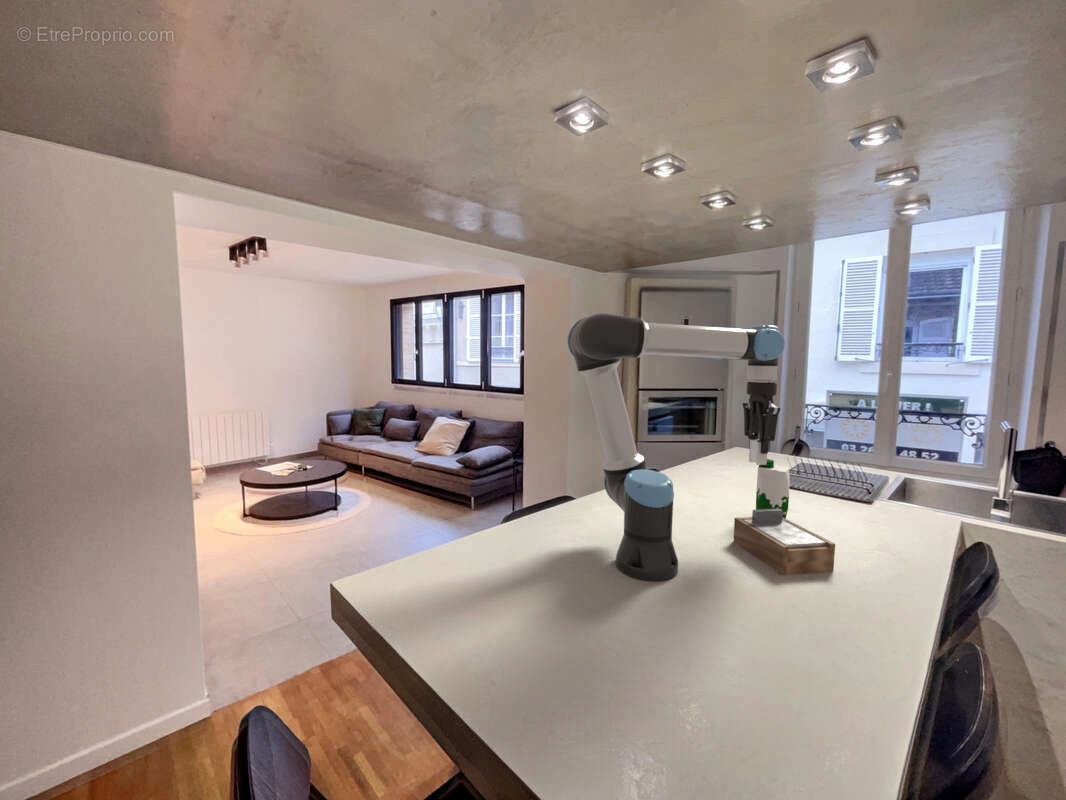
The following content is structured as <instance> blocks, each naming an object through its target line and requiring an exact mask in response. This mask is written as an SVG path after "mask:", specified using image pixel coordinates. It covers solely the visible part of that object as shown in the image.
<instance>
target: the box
mask: <svg viewBox="0 0 1066 800" xmlns="http://www.w3.org/2000/svg"><path fill="white" fill-rule="evenodd" d="M749 519H752V516H745V517H744V516H743V517H734V520H733V521H734V522H733V523H734V525H733V543H735V544H736V545H738V546H739V547H740V548H743V549H744V550H745V551H747V552H749V553H750V554H751V555H753V556H754V557H755V558H757V559H758V560H760V561H761V562H763V564H766V565H767V566H768V567H769V568H771V569H772V570H774V571H775V572H777V573H779V574H780V575H781V576H785V575H798V574H799V575H800V574H812V573H813V574H814V573H826V572H828V573H829V572H834V567H835V554H836V553H835V552H836V551H835V550H836V543H834V542H832V541H830V540H828V539H827V538H824V537H823V536H820V535H819V534H816V533H815V532H813V531H810V530H809V529H807V528H804V527H803V526H800V525H798V524H797V523H795V522H793V521H790V520H789V519H787V518H786V519H785V518H783V517H782V520H783V521H785V522H787V523H789V524H791V525H793V526H795V527H797V528H799V529H801V530H803V531H805V532H807V533H809V534H811V535H812V536H814V537H816V538H818V539H820V540H822V541H824V542H826V544H825V546H819V547H803V548H788V546H786V545H784V544H783V543H781V542H779V541H777V540H776V539H774V538H772V537H771V536H769V535H767V534H766V533H764V532H762V531H760V530H759V529H757V528H755V527H754V526H752V525H750V524H749V523H747V522H745V521H744V520H749Z"/></svg>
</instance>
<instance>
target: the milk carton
mask: <svg viewBox="0 0 1066 800" xmlns="http://www.w3.org/2000/svg"><path fill="white" fill-rule="evenodd" d="M774 463H775V461H774V460H773V459H769V458H767V465H758V467H757V475H756V476H757V477H756V492H755V493H756V496H755V497H756V498H755V510H760V509H781V510H783V514H782V517H783V518H785V519H787V516H788V511H789V502H790V501H789V500H790V483H791V478H790V477H791V476H790V466H781V465H779V464H778V465H777V464H774Z"/></svg>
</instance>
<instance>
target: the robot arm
mask: <svg viewBox="0 0 1066 800" xmlns="http://www.w3.org/2000/svg"><path fill="white" fill-rule="evenodd" d="M566 340H567V347H568V350H569V352H570V353H571V355H572V356H573V357H574V360H575V361H574V362H575V365H576V369H577V372H578V373H579V374H581V375H583V376H584V377H585V381H586V385H587V388H588V392H589V395H590V396H589V397H590V401H591V404H592V408H593V411H594V416H595V420H596V424H597V427H598V432H599V436H600V439H601V442H602V443H601V444H602V446H603V450H604V454H605V458H606V459H605V461H604V462H603V464H602V468H603V472H604V477H603V485H604V489H605V491H606V493H607V495H608V497H609V499H611V500H612V501H613V502H614V503H615V504H616V505H617V506H618V507H619V508H620V509H621V510H622V511H623V515H624V516H623V535H622V538H621V540H620V544H619V546H618V549H617V552H616V554H615V565H616V567H617V569H618V570H619V571H620V572H622V573H623V574H624V575H626V576H629V577H631V578H634V579H638V580H643V581H651V582H654V581H655V582H659V581H660V582H661V581H667V580H670V579H672V578H674V577H675V576H677V575H678V573H679V559H678V556H677V553H676V549H675V547H674V546H675V545H674V543H673V536H672V535H673V513H674V498H675V492H674V484H673V481H672V479H671V478H670V477H669V476H668V475H666V474H665V473H662V472H659V471H658V472H657V470H652V469H648V468H647V465H646V459H645V457H644V455H643V454H641V453H639V452H638V451H637V447H636V442H635V438H634V434H633V430H632V427H631V422H630V418H629V415H628V410H627V406H626V401H625V398H624V393H623V390H622V386H621V382H620V377H619V374H618V371H617V369H618V367H619V365H620V363H621V359H629V358H631V359H639V358H640V357H641V356H642V355H652V356H655V355H656V356H668V357H669V356H671V357H672V356H673V357H690V358H691V357H692V358H710V359H711V360H714V361H717V360H718V361H747V373H746V374H747V375H746V379H747V380H748V381H747V382H746V394H747V395H748V396H749V399H748V401H746V402H743V403H742V408H743V420H744V421H743V423H744V424H743V427H744V429H743V430H744V432H743V433H744V436H745V437H747V438H748V440H749V441H748V444H749V445H748V449H749V453H748V462H749V463H755V464H756V465H758V466H759V465H767V459H768V453H769V443H770V442H774V441H775V439H776V435H777V434H776V431H777V425H778V419H779V418H778V417H779V413H780V412H781V407H780V406H776V405H775V404H774V399H773V398H774V397H775V396H777V391H778V390H777V389H778V387H777V386H778V383H777V382H776V381H777V380H778V366H779V357H780V356H781V355H782V354H783V352H784V350H785V347H786V346H785V345H786V344H785V343H786V341H785V337H784V335H783V334H782V333H781V332H780V328H779V327H778V326H776V325H754V326H751V327H750V328H739V327H737V328H736V327H721V326H720V327H719V326H705V325H704V326H702V325H692V324H691V325H687V324H674V323H673V324H671V323H660V322H659V323H658V322H657V323H655V322H645V320H644V319H643V318H642V317H630V316H624V315H616V314H610V313H596V314H595V313H594V314H592V315H589V316H588V317H584V318H580V319H579V320H578V321H576V322H575V323H574V324H573V325H572V327H571V329H569V332H568V335H567V339H566Z"/></svg>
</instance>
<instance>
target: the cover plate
mask: <svg viewBox="0 0 1066 800" xmlns="http://www.w3.org/2000/svg"><path fill="white" fill-rule="evenodd" d="M751 513H752V514H751V515H752V516H751V517H752V519H749V520H744V521H745V522H747V523H749V524H750V525H752V526H754V527H755V528H757V529H759V530H760V531H762V532H764V533H766V534H767V535H769V536H771V537H772V538H774V539H776V540H777V541H779V542H781V543H783V544H784V545H786V546H788V548H803V547H819V546H825V544H826V542H824V541H822V540H820V539H818V538H816V537H814V536H812V535H811V534H809V533H807V532H805V531H803V530H801V529H799V528H797V527H795V526H793V525H791V524H789V523H787V522H785V521H783V520H782V514H783V510H781V509H760V510H756V509H752V512H751Z"/></svg>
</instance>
